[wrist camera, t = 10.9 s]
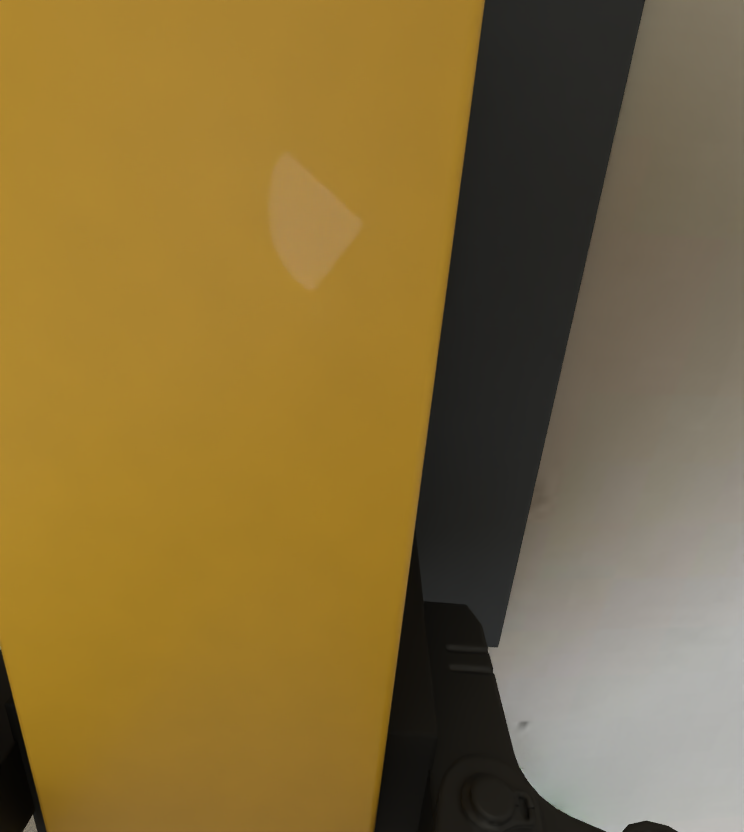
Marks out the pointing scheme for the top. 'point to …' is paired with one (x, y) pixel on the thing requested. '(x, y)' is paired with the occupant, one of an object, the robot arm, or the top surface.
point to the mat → (515, 281)
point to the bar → (218, 393)
